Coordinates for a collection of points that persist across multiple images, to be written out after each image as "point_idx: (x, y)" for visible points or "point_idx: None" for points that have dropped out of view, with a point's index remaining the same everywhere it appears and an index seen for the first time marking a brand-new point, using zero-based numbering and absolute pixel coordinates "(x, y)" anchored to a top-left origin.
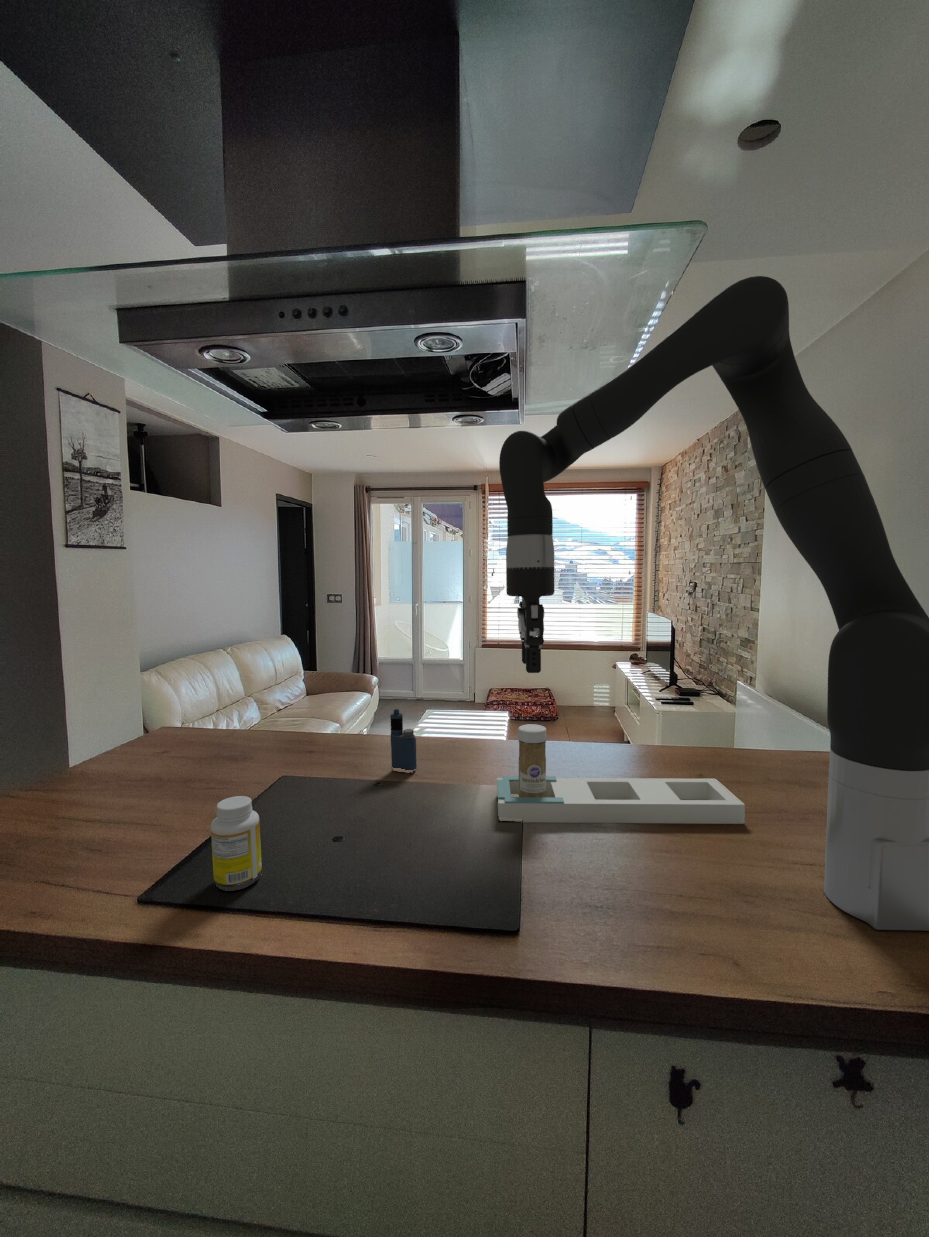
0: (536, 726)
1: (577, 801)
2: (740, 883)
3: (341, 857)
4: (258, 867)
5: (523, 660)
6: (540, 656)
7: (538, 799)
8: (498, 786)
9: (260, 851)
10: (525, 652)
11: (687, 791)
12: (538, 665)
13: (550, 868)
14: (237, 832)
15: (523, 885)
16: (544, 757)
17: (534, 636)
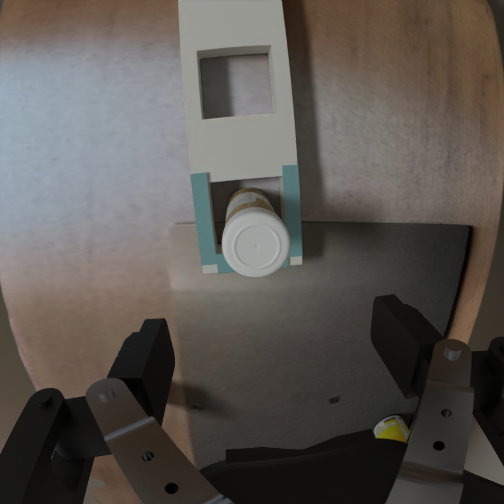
0: (245, 236)
1: (288, 142)
2: (401, 10)
3: (366, 385)
4: (396, 421)
5: (172, 364)
6: (421, 323)
7: (293, 205)
8: None
9: (393, 429)
10: (163, 380)
11: None
12: (417, 311)
13: (398, 191)
14: None
15: (423, 221)
16: (264, 204)
17: (138, 403)
